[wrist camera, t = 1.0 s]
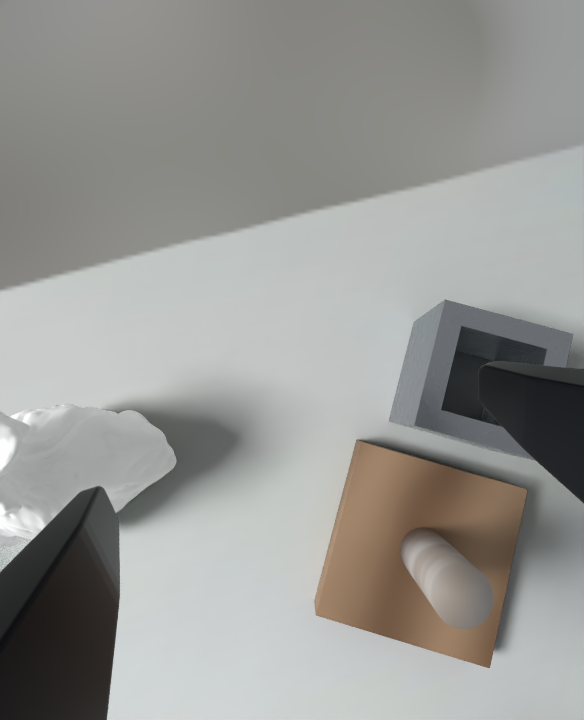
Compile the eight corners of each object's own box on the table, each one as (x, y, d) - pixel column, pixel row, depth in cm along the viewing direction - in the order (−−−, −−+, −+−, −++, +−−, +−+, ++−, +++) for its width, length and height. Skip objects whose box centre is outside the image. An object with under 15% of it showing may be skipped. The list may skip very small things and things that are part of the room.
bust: (193, 420, 26) (84, 277, 17) (212, 536, 20) (68, 407, 12) (12, 494, 25) (-186, 383, 17) (-17, 632, 20) (-324, 565, 12)
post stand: (512, 484, 23) (598, 515, 16) (476, 650, 22) (552, 753, 15) (356, 439, 23) (380, 452, 17) (314, 601, 22) (322, 681, 16)
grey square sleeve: (514, 349, 24) (572, 334, 19) (491, 450, 23) (546, 462, 18) (414, 321, 24) (445, 299, 19) (388, 421, 23) (414, 425, 18)
